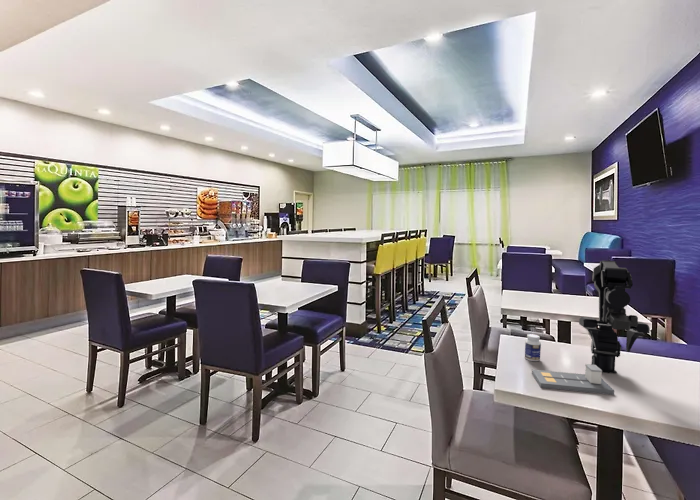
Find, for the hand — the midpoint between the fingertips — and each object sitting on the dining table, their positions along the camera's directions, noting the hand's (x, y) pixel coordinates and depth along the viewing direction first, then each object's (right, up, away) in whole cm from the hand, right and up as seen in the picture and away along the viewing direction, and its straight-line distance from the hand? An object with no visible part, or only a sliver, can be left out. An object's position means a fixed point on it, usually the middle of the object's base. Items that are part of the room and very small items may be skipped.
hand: (611, 350), depth 122 cm
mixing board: (-12, -13, +4) cm, 18 cm away
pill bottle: (-13, -12, +27) cm, 32 cm away
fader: (-5, -11, +2) cm, 12 cm away
